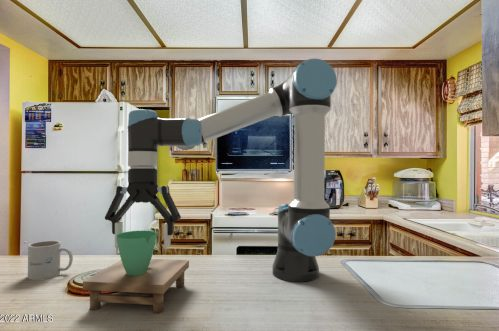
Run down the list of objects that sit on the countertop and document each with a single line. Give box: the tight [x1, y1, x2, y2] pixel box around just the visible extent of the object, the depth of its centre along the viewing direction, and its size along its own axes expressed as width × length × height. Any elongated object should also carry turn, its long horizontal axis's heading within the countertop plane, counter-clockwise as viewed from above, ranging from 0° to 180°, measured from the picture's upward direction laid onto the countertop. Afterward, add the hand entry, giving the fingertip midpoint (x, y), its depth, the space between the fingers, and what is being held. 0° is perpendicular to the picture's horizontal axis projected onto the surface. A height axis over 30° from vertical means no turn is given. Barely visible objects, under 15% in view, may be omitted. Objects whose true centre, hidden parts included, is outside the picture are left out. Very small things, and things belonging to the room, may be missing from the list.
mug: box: [27, 240, 74, 281], centre depth 99 cm, size 12×9×10 cm
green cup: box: [117, 229, 157, 276], centre depth 83 cm, size 15×10×10 cm
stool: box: [82, 258, 190, 314], centre depth 83 cm, size 20×20×7 cm
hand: (142, 246), depth 83 cm, fingers open, 13 cm apart
